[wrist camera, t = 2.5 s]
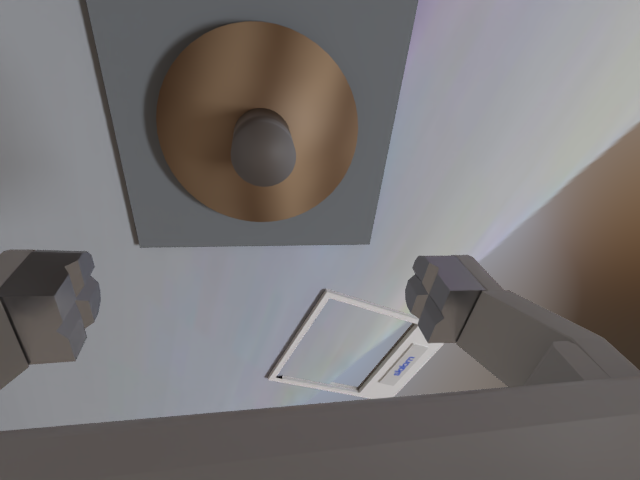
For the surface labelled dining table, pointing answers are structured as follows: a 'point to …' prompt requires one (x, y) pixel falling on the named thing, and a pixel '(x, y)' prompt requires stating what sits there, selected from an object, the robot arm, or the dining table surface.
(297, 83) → the walnut lid
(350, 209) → the rubber mat
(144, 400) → the dining table surface
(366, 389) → the photo frame
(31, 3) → the dining table surface
